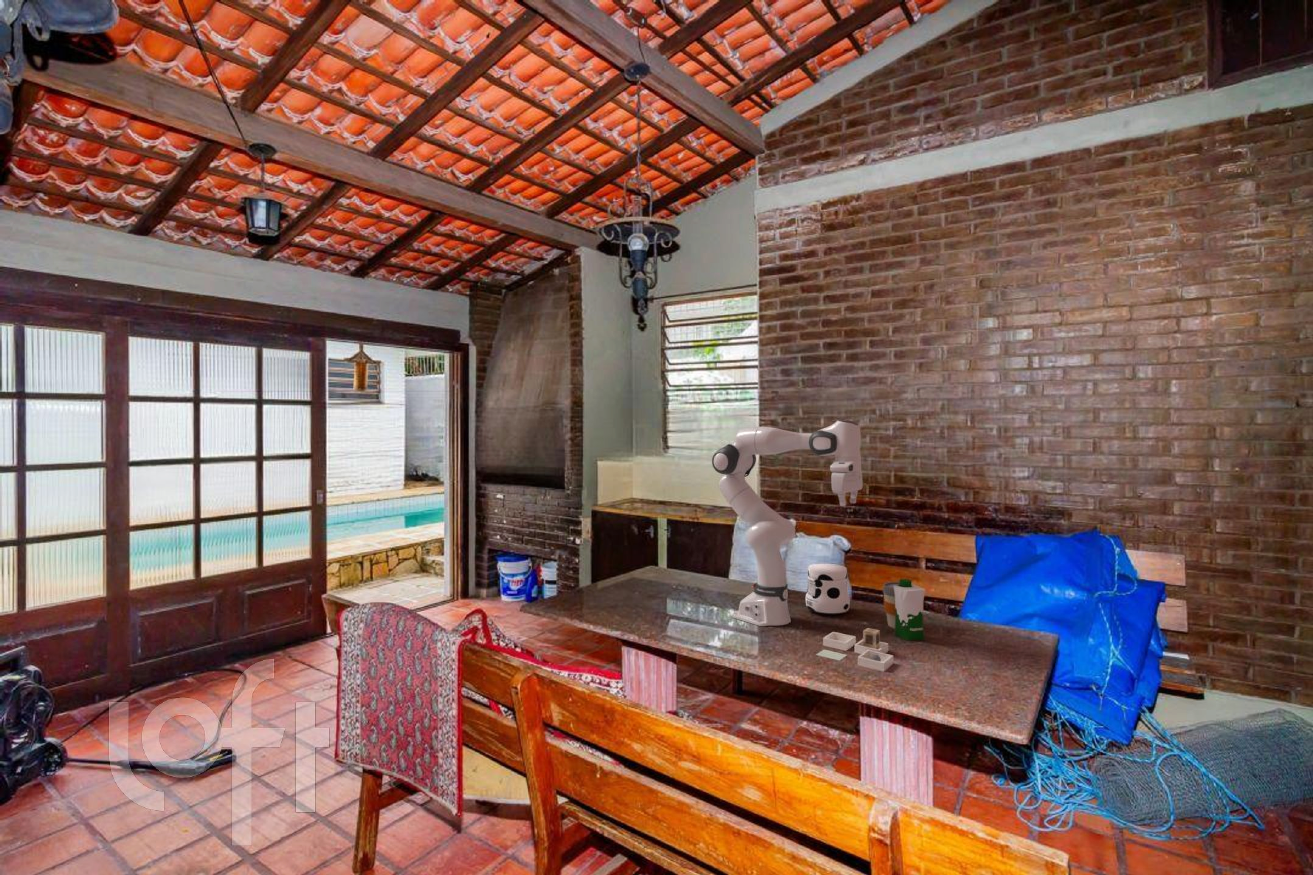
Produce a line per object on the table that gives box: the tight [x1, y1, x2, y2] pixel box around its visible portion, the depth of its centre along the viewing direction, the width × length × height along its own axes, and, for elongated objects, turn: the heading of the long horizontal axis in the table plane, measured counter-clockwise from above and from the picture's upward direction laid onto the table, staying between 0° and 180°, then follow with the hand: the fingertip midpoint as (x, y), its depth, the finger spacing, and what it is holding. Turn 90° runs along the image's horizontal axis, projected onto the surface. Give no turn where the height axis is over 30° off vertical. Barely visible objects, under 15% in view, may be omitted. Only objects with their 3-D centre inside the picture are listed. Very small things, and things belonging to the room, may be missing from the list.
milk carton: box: [893, 578, 926, 642], centre depth 219 cm, size 9×9×20 cm
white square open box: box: [857, 650, 894, 672], centre depth 194 cm, size 8×8×3 cm
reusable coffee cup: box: [882, 581, 917, 629], centre depth 233 cm, size 13×13×15 cm
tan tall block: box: [862, 627, 881, 649], centre depth 205 cm, size 4×4×7 cm
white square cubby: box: [854, 638, 889, 655], centre depth 205 cm, size 8×8×3 cm
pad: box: [815, 649, 848, 661], centre depth 202 cm, size 8×6×1 cm
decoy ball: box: [870, 654, 881, 661], centre depth 194 cm, size 3×3×3 cm
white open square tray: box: [822, 631, 857, 651], centre depth 212 cm, size 8×8×3 cm
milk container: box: [805, 563, 851, 616], centre depth 252 cm, size 17×17×18 cm
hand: (848, 504), depth 220 cm, fingers open, 8 cm apart
